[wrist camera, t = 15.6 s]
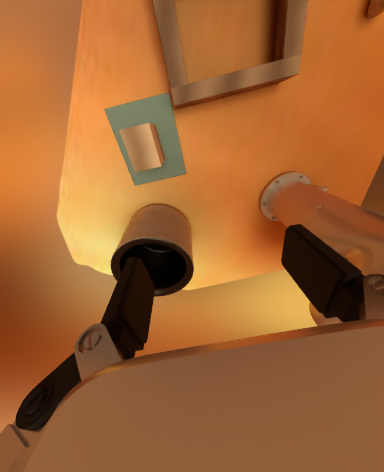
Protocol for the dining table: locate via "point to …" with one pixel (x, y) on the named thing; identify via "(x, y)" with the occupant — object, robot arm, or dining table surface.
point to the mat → (163, 117)
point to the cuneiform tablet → (375, 8)
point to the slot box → (283, 68)
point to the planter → (158, 247)
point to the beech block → (143, 146)
